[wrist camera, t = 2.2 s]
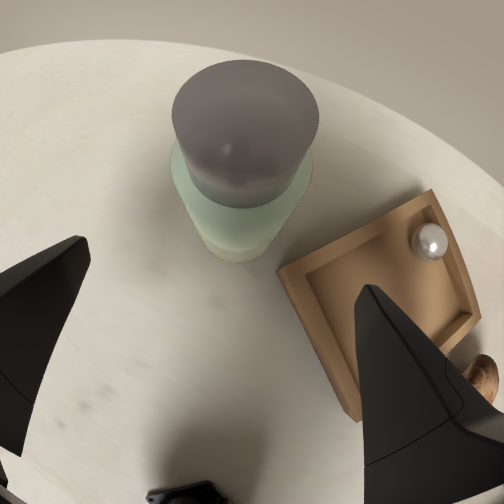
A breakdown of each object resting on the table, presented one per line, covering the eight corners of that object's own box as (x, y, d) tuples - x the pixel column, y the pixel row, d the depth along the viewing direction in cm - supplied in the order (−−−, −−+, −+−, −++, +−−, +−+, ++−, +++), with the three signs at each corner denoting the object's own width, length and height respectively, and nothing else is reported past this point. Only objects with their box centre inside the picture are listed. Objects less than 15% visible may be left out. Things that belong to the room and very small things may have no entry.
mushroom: (422, 398, 15) (493, 418, 10) (454, 328, 19) (512, 340, 14) (411, 441, 18) (464, 459, 13) (444, 381, 22) (491, 393, 17)
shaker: (219, 275, 19) (191, 229, 6) (188, 209, 20) (132, 82, 7) (287, 243, 20) (373, 152, 7) (254, 180, 20) (281, 37, 7)
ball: (413, 272, 19) (437, 267, 16) (398, 237, 19) (420, 227, 16) (436, 255, 19) (460, 249, 16) (421, 222, 20) (444, 212, 17)
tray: (343, 411, 18) (356, 423, 15) (276, 271, 19) (282, 267, 17) (463, 317, 20) (481, 317, 17) (415, 198, 21) (431, 188, 19)
